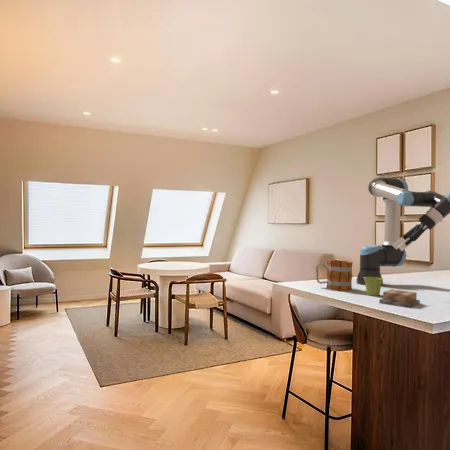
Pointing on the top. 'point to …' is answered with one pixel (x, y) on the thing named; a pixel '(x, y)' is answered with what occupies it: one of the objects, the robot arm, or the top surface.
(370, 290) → the plant pot
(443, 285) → the top surface
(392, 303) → the plinth
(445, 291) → the top surface
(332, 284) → the mug
